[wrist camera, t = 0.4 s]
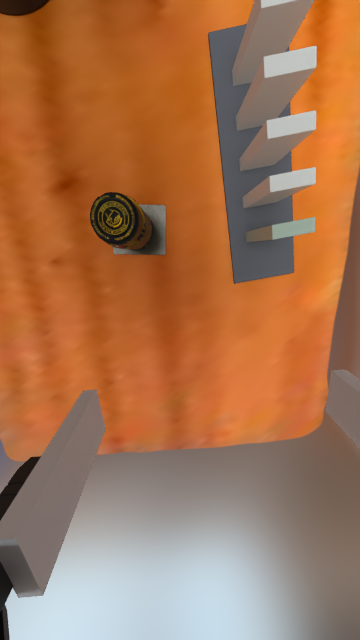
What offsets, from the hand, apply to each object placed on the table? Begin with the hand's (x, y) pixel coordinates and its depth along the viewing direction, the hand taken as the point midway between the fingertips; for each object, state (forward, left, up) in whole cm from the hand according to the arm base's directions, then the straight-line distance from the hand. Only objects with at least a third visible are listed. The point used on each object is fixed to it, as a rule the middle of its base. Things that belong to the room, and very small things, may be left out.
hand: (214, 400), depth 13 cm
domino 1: (-28, +13, -27) cm, 41 cm away
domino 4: (-13, +13, -27) cm, 33 cm away
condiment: (-12, -6, -28) cm, 31 cm away
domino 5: (-8, +13, -27) cm, 31 cm away
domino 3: (-18, +13, -27) cm, 35 cm away
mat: (-17, +13, -27) cm, 35 cm away
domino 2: (-23, +13, -27) cm, 38 cm away
